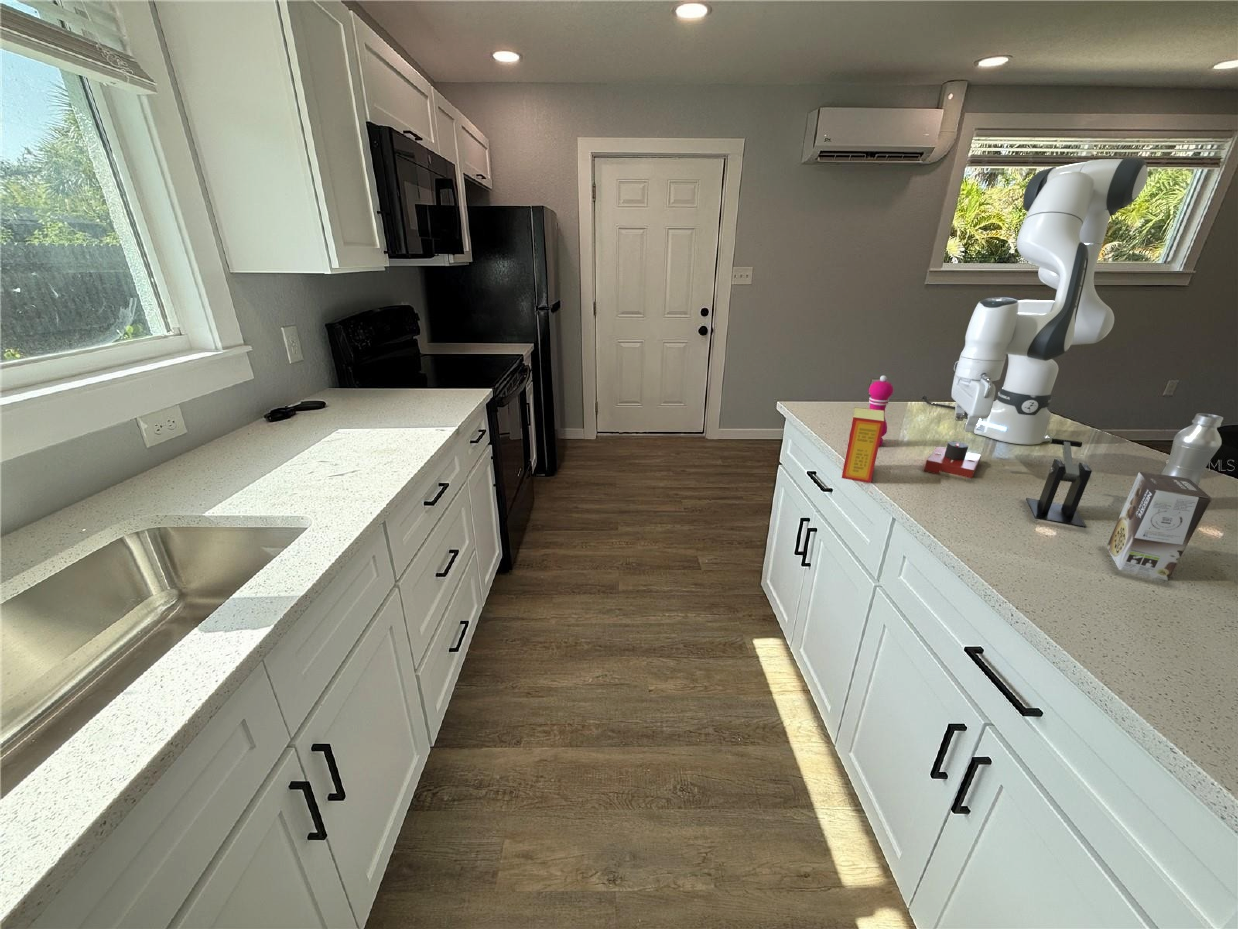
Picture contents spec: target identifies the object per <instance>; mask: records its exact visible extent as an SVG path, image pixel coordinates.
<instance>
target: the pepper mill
mask: <svg viewBox="0 0 1238 929" xmlns="http://www.w3.org/2000/svg"><path fill="white" fill-rule="evenodd" d="M887 380H888V377H887V376H886V375H884V374H883V375H881V376H880V378H879V380H876V381H874V382H873V383H872V384H870V386H869V388H868V393H869V395H870V396H869V398H868V399H869V400H868V403H869V408H868V409H875V410H884V424H883V429H882V434H881V438H880V443H879V447H881V446H883V442H884V438H883V437H884V436H885V435H886V434H887V433H888V423H887V419H886V416H885V415H886V414H885V413H886V407H887V406H888V405H889V401H890V399H889V398H890V397H892V395H894V394H893V393H894V386H893V384H892V383H890V382H889V381H887Z"/></svg>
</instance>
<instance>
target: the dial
mask: <svg viewBox="0 0 1238 929" xmlns="http://www.w3.org/2000/svg"><path fill="white" fill-rule="evenodd" d="M945 448H946V451H945V455H944V456H945V457H947V458H949V459H952V460H964V459H965V456H966V453H967V452H968V449H969V445H968V444H967V443H964V442H961V441H954V440H951V441H948V442H947V444H946V447H945Z"/></svg>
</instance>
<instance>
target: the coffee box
mask: <svg viewBox="0 0 1238 929" xmlns="http://www.w3.org/2000/svg"><path fill="white" fill-rule="evenodd" d="M1212 500H1213V498H1212V497H1211V496H1210V495H1209V494H1208V493H1207V492H1205V491H1204V490H1203V489H1202V488H1201V487H1199V485H1198V486H1197V485H1196V484H1195V483H1194V482H1192V481H1191V480H1190V479H1188V478H1183V477H1176V476H1169V475H1161V473H1150V472H1143V471H1138V474H1137V476H1136V478H1135V480H1134V482H1133V485H1132V487H1131V489H1130V492H1129V494H1128V496H1127V498H1126V500H1125V503H1124V506H1123V508H1122V510H1121V512H1120V515H1119V518H1118V519H1117V522H1116V523H1115V526H1114V528H1113V530H1112V533H1111V536H1110V538H1109V540H1108V543H1107V544H1106V548H1107V550H1108V552H1109V554H1110V556H1111V558H1112V560H1113V561H1114V563H1115V565H1116V567H1117V568H1118V570H1119V571H1122V572H1127V573H1131V574H1136V575H1141V576H1145V577H1149V578H1152V579H1153V578H1154V579H1157V580H1162V581H1167V582H1168V581H1169V580H1170V579H1171V577H1172V574H1173V573H1174V571H1175V569H1176V567H1177V565H1178V563H1179V561H1180V560H1181V558H1182V555H1183V553H1184V551H1185V550H1186V548H1187V546H1188V544H1189V543H1190V540H1191V539H1192V537H1193V534H1194V533H1195V531H1196V529H1197V527H1198V526H1199V523H1200V521H1201V520H1202V518H1203V516H1204V514H1205V512H1206V510H1207V508H1208V506H1209V505H1210V503H1211V501H1212Z"/></svg>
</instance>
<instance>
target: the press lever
mask: <svg viewBox="0 0 1238 929" xmlns="http://www.w3.org/2000/svg"><path fill="white" fill-rule="evenodd" d="M1049 444H1051V445H1058V446H1059V445H1060V446H1061V449H1062V457H1063V464H1064V465H1065V467H1066V468H1065V470H1064V473H1063V476H1062V478H1061V481H1062V482H1068V483H1072V482H1073V483H1075V481H1076V480H1077V478H1078V477H1079V475H1080V473H1079V466H1078V465H1079V464H1074V460H1073V454H1072V447H1074V448H1082V446H1083V441H1079V440H1071V439H1063V438H1054V437H1050V441H1049ZM1061 481H1060V482H1061Z"/></svg>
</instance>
